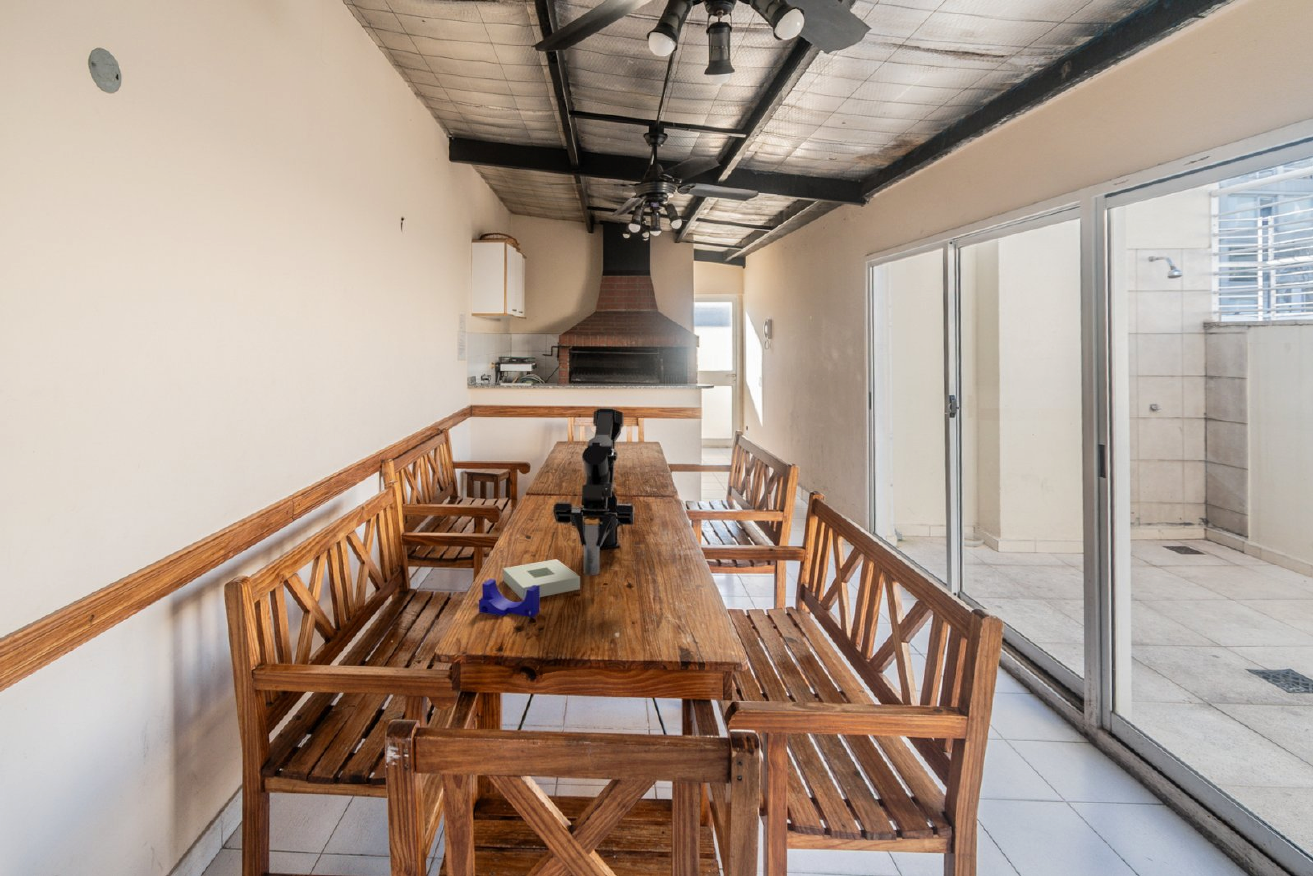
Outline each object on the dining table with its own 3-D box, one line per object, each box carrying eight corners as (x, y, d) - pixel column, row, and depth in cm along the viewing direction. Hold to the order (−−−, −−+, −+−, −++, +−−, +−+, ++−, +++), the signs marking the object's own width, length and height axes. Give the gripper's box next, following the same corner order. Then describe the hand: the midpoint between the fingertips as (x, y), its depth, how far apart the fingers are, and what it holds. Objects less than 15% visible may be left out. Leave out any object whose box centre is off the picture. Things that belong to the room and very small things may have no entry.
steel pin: (595, 568, 151) (595, 515, 149) (601, 573, 148) (602, 519, 146) (581, 571, 149) (581, 517, 147) (587, 576, 146) (588, 521, 144)
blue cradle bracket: (479, 613, 136) (478, 586, 135) (490, 604, 141) (489, 579, 140) (530, 621, 133) (529, 593, 132) (539, 612, 137) (539, 585, 136)
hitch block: (556, 570, 162) (556, 559, 161) (580, 589, 150) (580, 576, 150) (503, 580, 154) (502, 568, 154) (523, 600, 143) (522, 587, 142)
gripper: (554, 468, 149) (545, 528, 140) (633, 470, 149) (630, 530, 140) (560, 493, 158) (552, 550, 149) (635, 495, 158) (631, 553, 149)
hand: (590, 545), depth 146 cm, fingers closed on steel pin, 4 cm apart
